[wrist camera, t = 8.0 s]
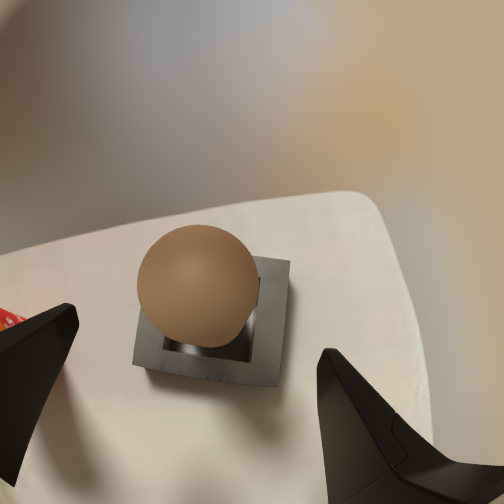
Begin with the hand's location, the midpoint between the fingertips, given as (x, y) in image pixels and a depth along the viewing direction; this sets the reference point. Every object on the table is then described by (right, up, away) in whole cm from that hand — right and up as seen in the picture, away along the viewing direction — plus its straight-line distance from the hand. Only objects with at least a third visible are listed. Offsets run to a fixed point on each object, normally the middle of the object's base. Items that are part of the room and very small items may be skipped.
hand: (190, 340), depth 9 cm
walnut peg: (-1, -2, +12) cm, 12 cm away
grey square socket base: (-1, -2, +12) cm, 12 cm away
